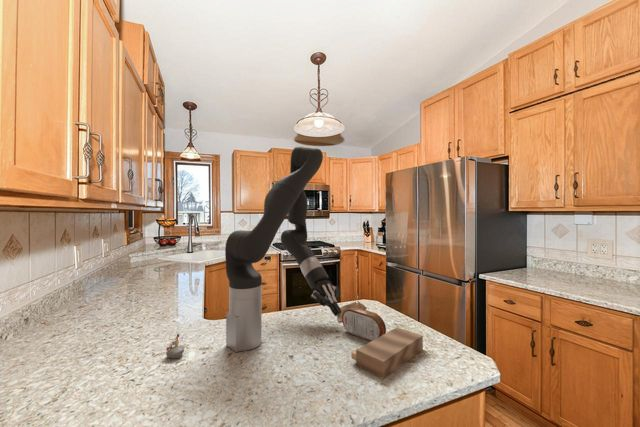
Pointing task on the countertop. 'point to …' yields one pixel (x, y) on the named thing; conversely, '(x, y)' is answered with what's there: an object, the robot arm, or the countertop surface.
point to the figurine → (175, 349)
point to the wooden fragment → (349, 307)
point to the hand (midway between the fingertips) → (338, 314)
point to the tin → (363, 323)
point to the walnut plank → (388, 352)
